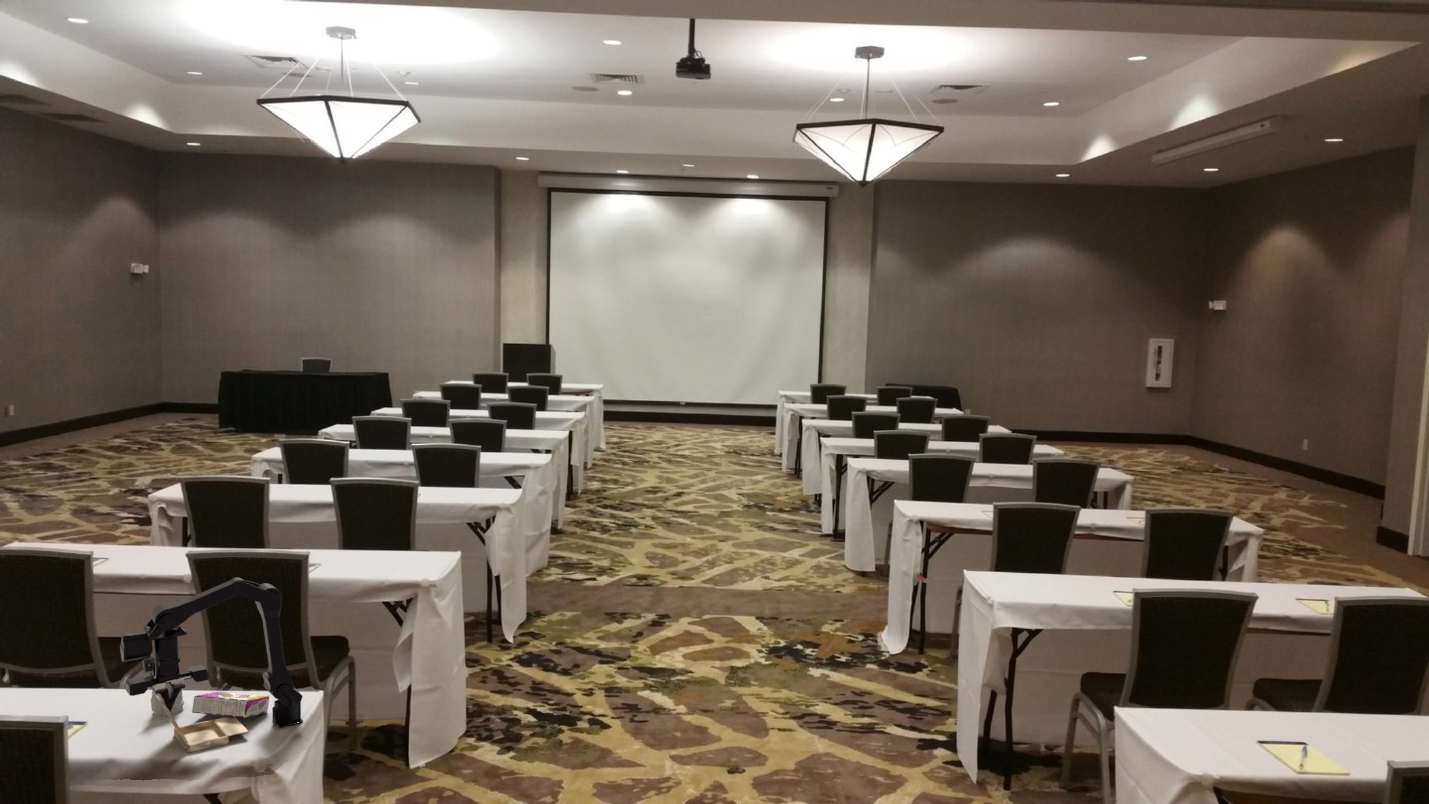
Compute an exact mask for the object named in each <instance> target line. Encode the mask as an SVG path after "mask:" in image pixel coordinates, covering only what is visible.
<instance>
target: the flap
mask: <svg viewBox="0 0 1429 804" xmlns="http://www.w3.org/2000/svg"><path fill="white" fill-rule="evenodd" d="M156 697H157V699H158V700H159V702H160V704H161V705H162V707H163V709H164V710H165V712H166V714H167V715H166V716H167V717H168V719H169V720H170V722H171V724H172V726H173V728H175V729H176V730H177V731H178V732H179V733H180V735H181V736H182V737H183V738H184V740H185V741H186V742H187V743H188V741H187V740H186V738H185V736H184V735H183V733H182V731H181V730H180V728H179V727H180V726H179V725H178V723H177V721H176V719H175V718H174V716H173V714H171V713H170V711H169V709H168V708H167V707H166V706H165V705H164V703H163V702H162V701H161V700H160V699H159V697H158V696H157V695H156Z"/></svg>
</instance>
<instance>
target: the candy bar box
mask: <svg viewBox="0 0 1429 804" xmlns="http://www.w3.org/2000/svg"><path fill="white" fill-rule="evenodd" d="M269 702H270V695H263V694H262V695H261V694H250V693H238V692H227V691H214V692H213V691H212V692H209V693H204V694H198V695H194V696H193V702H192V710H191V713H193V714H202V715H203V714H204V715H212V716H213V715H214V716H224V717H229V716H233V717H235V718H244V719H245V718H250V717H254V716H259V715H263V714H267V713H268V711H269Z"/></svg>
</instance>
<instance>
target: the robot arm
mask: <svg viewBox="0 0 1429 804" xmlns="http://www.w3.org/2000/svg"><path fill="white" fill-rule="evenodd" d="M236 596H241V597H245V598H247V599H249V600H252V601H254V602H255V605H256V608H257V610H258V612H259V614H260V617H261V619H262V626H263V628H262V629H263V632H264V641H265V647H266V654H267V661H268V667H267V671H265V672H262V673H261V674H262V678H263V681H264V682H263V688H265V689H266V691H268V692H269V694H271V695H272V697H274V699H276V700H274V704H273V705H274V706H273V707H272V708H271V709H272V712H271V713H272V718H271V721H272V722H273V723H274V724H275V725H276V726H277V725H278V726H277V727H278V728H283V727H288V726H287V725H289V726H291V724H293V725H296V724H295V723H297V722H302V723H304V720H303V719H302V718H301V717H302V716H301V715H302V713H301V712H302V709H301V708H302V699H303V698H304V697H303V694H301V692H300V691H298V690H297V689H296V688H295V686H294V682H293V679H292V677H291V674H290V673H289V670H288V668H287V665H286V659H285V653H284V645H283V638H282V631H281V630H282V629H281V624H280V623H281V622H280V614H281V611H282V610H281V609H282V602H283V601H282V600H283V599H282V592H281V591H280V589H278V588H276V587H275V586H273V585H272V584H270V583H268V582H267V583H265V582H264V583H261V584H260V583H257V582H254V581H250V580H245V579H242V578H241V577H233V578H231V579H230V580H228V581H225V582H223V583H220V584H219V585H216V586H214V587H212V588H209V589H207V590H205V591H202V592H200V593H198V594H195V595H192V596H191V597H189V598H186V599H182V600H174V601H170V602H165V603H161V604H158V605H157V606H155V607H154V608H153V609H152V613H151V616H150V619H149V621H148V622H147V623H146V625H145V626H144V628H143V631H138V632H135V633H133V632H132V633H122V634H121V641H120V645H119V650H120V651H119V652H120V658H121V662H122V663H123V662H129V661H134V660H140V659H144V660H142V671H143V673H149V672H150V674H151V675H152V677H153V678H150V679H145V678H144V676H140V677H134V678H129V679H126V682H125V685H124V686H125V691H126V692H127V694H128V695H129V696H131V697H132V696H138V695H142V694H146V692H147V691H148V688H151V690H153V691H154V692H155V693H156V694H158V693H159V694H160V696H161V697H162V699H163V702H164V704H165V706H166V707H167V708H168V709H169V711H170V712H171V710H172V707H173V705H174V703H175V700H176V698H177V696H178V694H179V692H180V691H181V689H182V690H183V689H185V688H186V685H185V683H184V682H185V680H191V679H192V680H193V681H194V682H196V683H199V682H205V681H208V680H210V672H209V669H208V668H206V666H204V665H202V664H200V665H199V664H198V665H194V666H188V667H187V669H186V670H187V671H184V672H181V669H180V667H181V665H180V664H181V657H180V641H179V637H181V636H187V635H188V632H187V631H186V630H185V629H184V628H183V627H181V625H182V624H183V623H185V622H186V621H188V619H189V618H191V617H192V616H194V615H196V614H197V613H200V612H202V611H204V610H206V609H209V608H212V607H213V606H216V605H218V604H220V603H222V602H225V601H227V600H229V599H232V598H234V597H236ZM153 649H154V650H153ZM151 653H154V656H153V660H152V659H151V658H149V659H146V658H148V657H149V656H151ZM154 677H155V678H154ZM167 683H168V688H169V691H168V689H167V688H166V684H167ZM297 724H298V723H297Z"/></svg>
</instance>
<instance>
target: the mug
mask: <svg viewBox="0 0 1429 804" xmlns="http://www.w3.org/2000/svg"><path fill="white" fill-rule="evenodd" d="M154 678H155V677H153V679H154ZM166 688H167V689H168V691H169V688H168V683H167V684H166ZM151 690H152V689H151ZM156 695H157V696H158V697H159V699H160V700H161V701H162V702H163V699H162V697H161V696H160V694H159V693H158V694H156V693H155V692H154V691H153V690H152V691H151V698H150V704H151V705H150V706H151V711H152V712H153V715H154V716H156V715H160V714H161V716H163V715H162V714H165V716H168V715H167V714H166V712H165V710H164V709H163V707H162V705H161V704H160V702H159V700H158V699H157V697H156ZM163 703H164V702H163ZM164 705H165V704H164ZM184 705H185V700H184V697H183V688H182V689H181V691H180V692H179V694H178V696H177V698H176V700H175V703H174V705H173V707H172V710H171V712H170V713H171V714H172V715H175V714H177V713H180V712H181V711H182V710H183V708H184Z"/></svg>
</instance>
